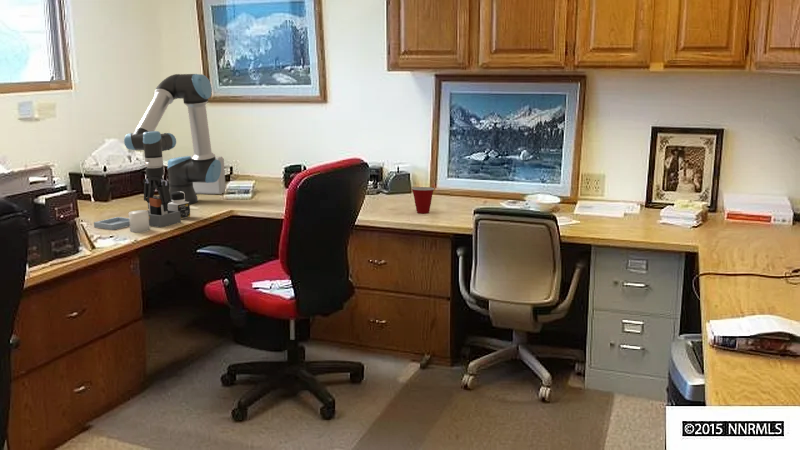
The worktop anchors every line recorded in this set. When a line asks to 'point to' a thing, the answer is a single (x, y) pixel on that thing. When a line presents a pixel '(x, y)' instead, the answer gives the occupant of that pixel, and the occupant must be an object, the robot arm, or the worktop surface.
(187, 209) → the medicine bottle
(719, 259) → the worktop surface
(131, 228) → the white rounded cylinder
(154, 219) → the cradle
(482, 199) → the worktop surface
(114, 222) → the tray
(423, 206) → the plastic cup
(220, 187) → the bevelled white case
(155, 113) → the robot arm
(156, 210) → the battery
